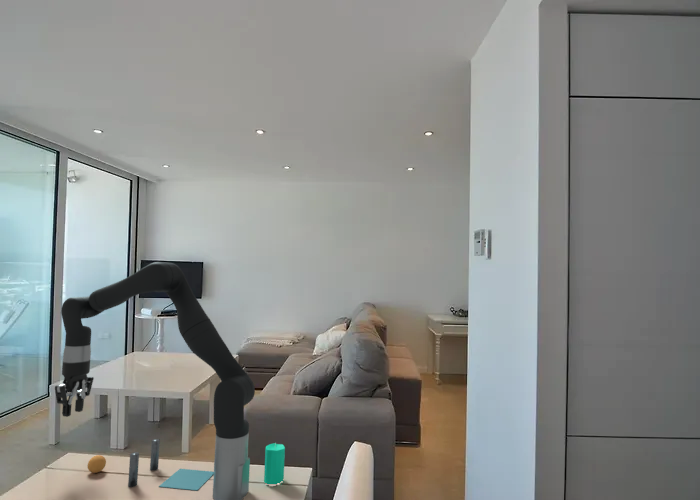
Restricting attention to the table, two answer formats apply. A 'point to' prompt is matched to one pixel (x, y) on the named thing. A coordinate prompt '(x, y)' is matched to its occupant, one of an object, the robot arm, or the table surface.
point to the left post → (133, 469)
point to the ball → (96, 464)
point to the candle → (274, 463)
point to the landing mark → (187, 479)
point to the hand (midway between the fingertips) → (72, 413)
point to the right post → (154, 454)
